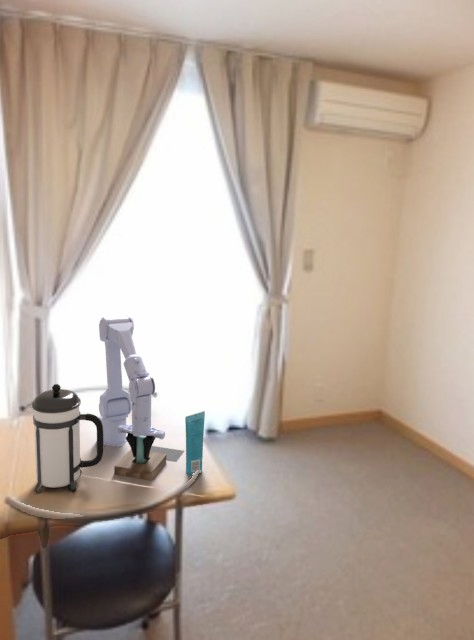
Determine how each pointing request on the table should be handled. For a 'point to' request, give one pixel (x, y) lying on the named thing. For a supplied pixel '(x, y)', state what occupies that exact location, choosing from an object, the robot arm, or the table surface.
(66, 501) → the table surface
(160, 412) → the table surface
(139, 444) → the peg
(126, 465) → the hole block
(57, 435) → the coffee press
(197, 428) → the teal shampoo bottle
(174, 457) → the mat
